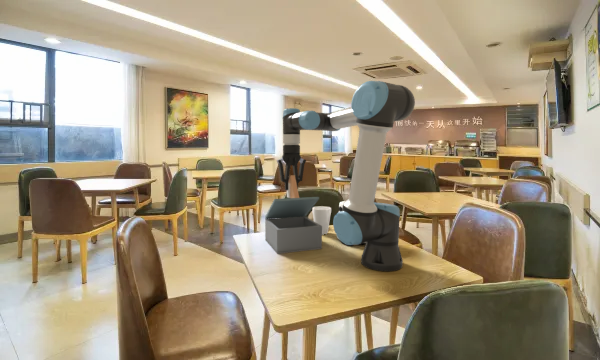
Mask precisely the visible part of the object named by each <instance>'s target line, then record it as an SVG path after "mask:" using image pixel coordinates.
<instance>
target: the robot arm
mask: <svg viewBox="0 0 600 360" xmlns="http://www.w3.org/2000/svg"><path fill="white" fill-rule="evenodd" d="M415 99H416V98H415V96H414V94H413V92H412V91H411V89H409V88H408V87H406V86H404V85H400V84H396V83H395V84H394V83H390V82H385V81H382V80H368V81H365V82H362V84H360V86H358V87H357V89H356V90H355V91H354V93H353V95H352V97H351V105H350V107H345V108H342V109H340V110H339V109H338V110H335V111H331V112H317V111H315V110H305V111H300V110H301V109H299V108H296V107H295V108H293V107H291V108H290V107H289V108H285V109H283V111H282V113H283V114H282V144H283V145H282V157H281V158H280V159H279V158H278V159H276V162H277V163H276V164H277V165H278V169H279V170H278V171H279V177H280V181H281V182H283V183H284V191H286V198H290V183H288V182H289V177H290V175H291V174H290V171H291V167H292V172H293V175H295V179H296V184H297V189H298V190H299V183H300V182H302V181H303V177H304V176H303V175H304V172H305V171H304V170H305V164H306V162H307V160H306V158H305V159H304V158H302V157H301V145H300V144H301V131H323V132H324V131H325V132H326V131H327V132H338V131H340V130H341V129H345V128H351V127H354V126H357V127H358V129H359V132H358V136H357V138H358V139H357V146H356V151H355V158H354V163H353V164H354V165H353V169H352V174H351V175H352V176H351V180H350V187H349V194H348V199H346V200H343V201H344V203H343V208H342V211H341V212H339V211H338V212H337V213H336V214H334V216H333V220H332V221H333V222H332V224H333V230H334V233H335V234H336V238H337V237H338V238H339V239H340V240H339V239H338V238H337V239H338V240H339V241H340V242H341V243H343V244H345V245H347V246H353V245H356V246H357V245H361V244H360V243H364V242H366V244H364V245H365V246H364V248H363V251H362V253H361V257H360V263H361V264H362V265H363V267H365V268H367V269H370V270H373V271H378V272H379V271H380V272H394V271H395V272H396V271H398V270H401V269H402V268H403V263H404V262H403V257H402V253H401V250H400V246H399V240H400V238H399V237H400V219H401V215H400V212H401V211H400V208H399V206H397V205H395V204H390V203H383V202H376V201H375V198H376V193H377V188H378V183H379V177H380V173H381V167H382V160H383V155H384V150H385V144H386V139H387V134H388V132H390V131H391V130H392V129H393V127H394V124H395V122H400V121H403V120H406V119H407V118H409V117H410V116H411V115H412V112H414V109H415V106H416V100H415ZM283 163H284V164H285V171H284V165H283ZM299 163H300V164H299ZM298 164H299V169H298ZM284 172H285V173H284ZM400 268H401V269H400Z"/></svg>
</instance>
